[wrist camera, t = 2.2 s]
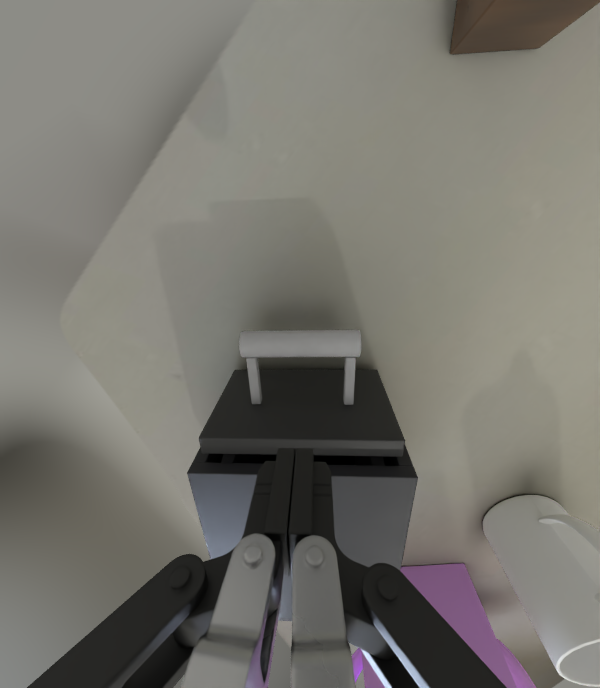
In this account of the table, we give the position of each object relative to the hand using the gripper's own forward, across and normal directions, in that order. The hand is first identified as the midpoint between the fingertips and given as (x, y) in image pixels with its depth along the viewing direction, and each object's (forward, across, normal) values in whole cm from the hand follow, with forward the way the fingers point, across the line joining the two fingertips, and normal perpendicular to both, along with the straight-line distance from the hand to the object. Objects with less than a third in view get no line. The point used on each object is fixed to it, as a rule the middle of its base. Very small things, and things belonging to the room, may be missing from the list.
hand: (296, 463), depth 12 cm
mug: (+12, -22, +18) cm, 30 cm away
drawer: (+11, 0, +6) cm, 13 cm away
